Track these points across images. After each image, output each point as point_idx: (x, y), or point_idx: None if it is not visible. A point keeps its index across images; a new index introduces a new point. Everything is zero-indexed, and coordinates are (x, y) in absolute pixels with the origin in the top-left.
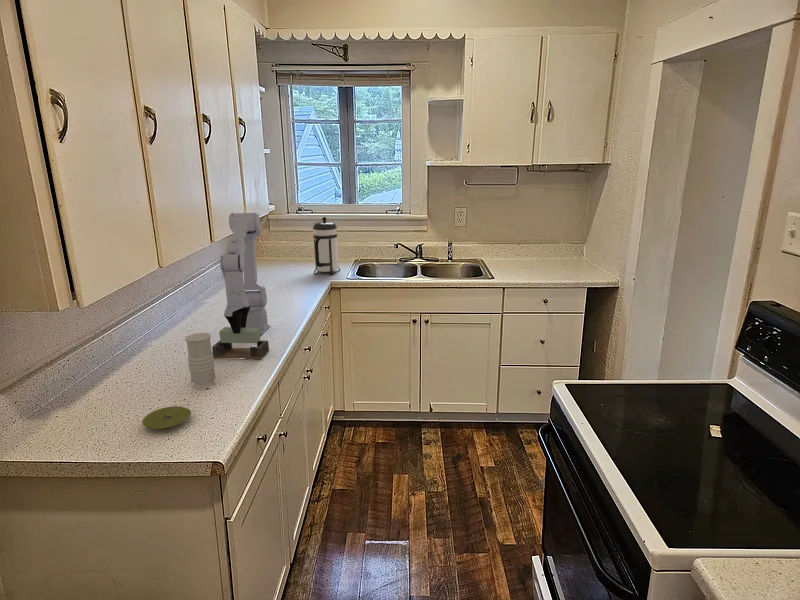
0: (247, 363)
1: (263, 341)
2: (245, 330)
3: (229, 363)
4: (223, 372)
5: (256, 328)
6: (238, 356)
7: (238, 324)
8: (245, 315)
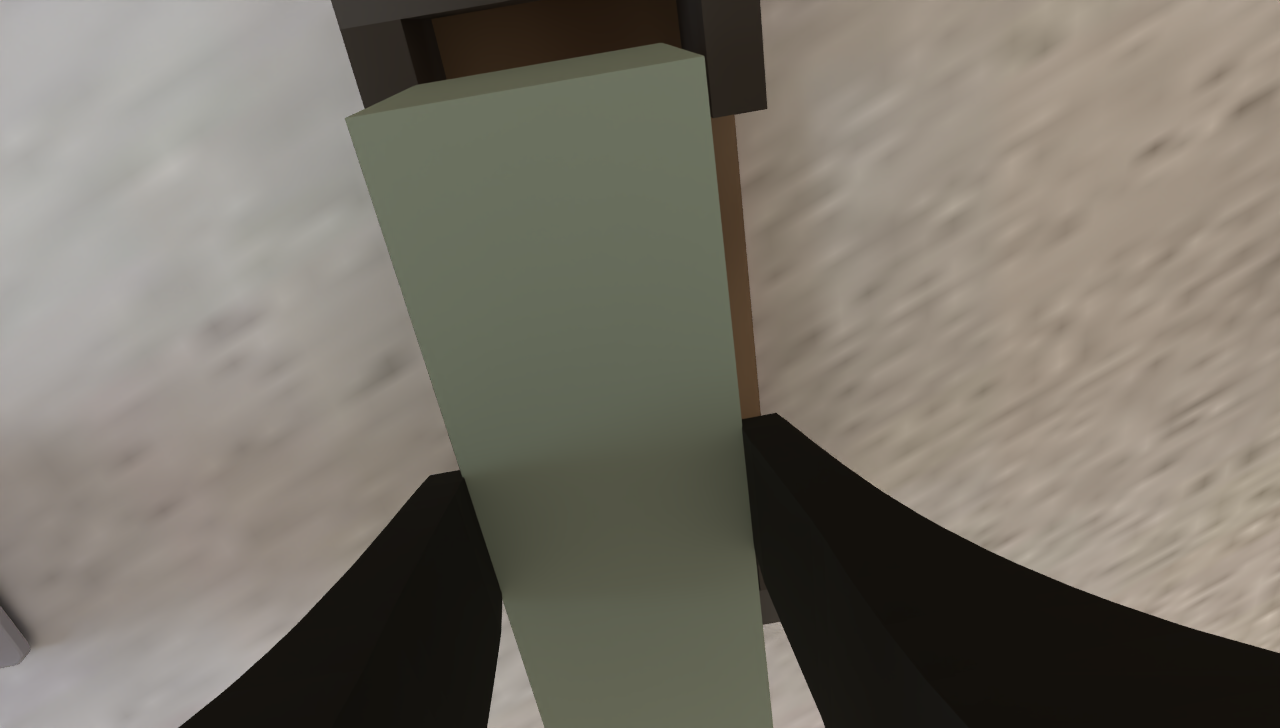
0: (853, 65)
1: (396, 23)
2: (647, 361)
3: (871, 293)
4: (1124, 212)
5: (427, 167)
6: (746, 270)
7: (919, 533)
8: (359, 719)
